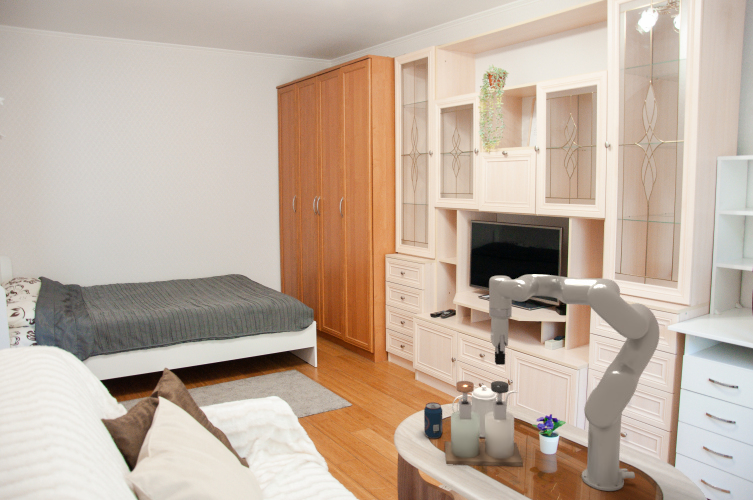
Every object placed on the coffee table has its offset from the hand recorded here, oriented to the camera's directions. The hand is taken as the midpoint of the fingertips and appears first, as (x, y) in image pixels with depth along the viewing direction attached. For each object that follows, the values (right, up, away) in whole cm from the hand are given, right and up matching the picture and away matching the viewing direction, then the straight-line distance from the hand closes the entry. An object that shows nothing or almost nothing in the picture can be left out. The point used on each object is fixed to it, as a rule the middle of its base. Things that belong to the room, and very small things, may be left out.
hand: (499, 363), depth 193 cm
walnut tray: (-5, -34, +5) cm, 35 cm away
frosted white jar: (+1, -32, +4) cm, 33 cm away
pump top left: (0, -15, +2) cm, 15 cm away
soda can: (-21, -32, +21) cm, 44 cm away
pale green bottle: (-11, -32, +6) cm, 35 cm away
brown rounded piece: (-12, -15, +3) cm, 19 cm away
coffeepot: (-1, -32, +23) cm, 39 cm away
